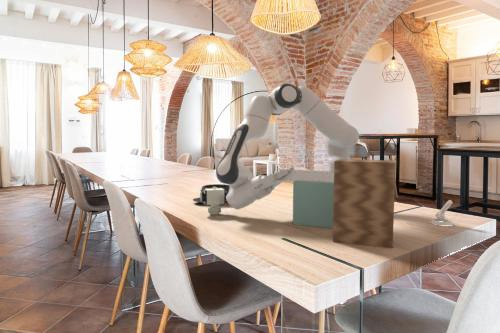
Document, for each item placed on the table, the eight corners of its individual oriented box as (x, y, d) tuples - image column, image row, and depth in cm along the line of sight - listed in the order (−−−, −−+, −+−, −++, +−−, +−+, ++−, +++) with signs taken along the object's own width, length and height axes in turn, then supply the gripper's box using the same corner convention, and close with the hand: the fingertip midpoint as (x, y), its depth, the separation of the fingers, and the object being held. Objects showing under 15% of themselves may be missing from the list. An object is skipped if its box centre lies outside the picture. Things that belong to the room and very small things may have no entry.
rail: (279, 180, 146) (279, 170, 145) (283, 179, 149) (283, 169, 149) (353, 184, 134) (353, 173, 134) (354, 182, 138) (355, 172, 138)
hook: (461, 216, 134) (444, 203, 137) (442, 237, 141) (425, 225, 144) (468, 209, 139) (451, 197, 142) (448, 229, 146) (433, 218, 149)
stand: (332, 241, 120) (334, 161, 117) (337, 234, 129) (339, 159, 127) (392, 248, 113) (395, 162, 111) (392, 239, 122) (395, 160, 120)
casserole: (201, 208, 175) (201, 190, 174) (187, 201, 191) (187, 185, 190) (247, 203, 187) (247, 186, 187) (230, 197, 203) (230, 182, 203)
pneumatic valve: (229, 214, 160) (228, 186, 159) (202, 216, 157) (201, 187, 156) (225, 211, 166) (225, 185, 165) (199, 213, 162) (199, 186, 161)
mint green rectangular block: (292, 224, 143) (293, 181, 141) (297, 219, 150) (298, 179, 149) (337, 228, 137) (338, 183, 135) (340, 223, 144) (341, 181, 143)
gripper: (248, 182, 141) (278, 164, 136) (266, 176, 160) (293, 161, 155) (256, 196, 141) (287, 180, 136) (273, 189, 160) (300, 174, 155)
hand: (290, 170), depth 146 cm, fingers open, 8 cm apart
